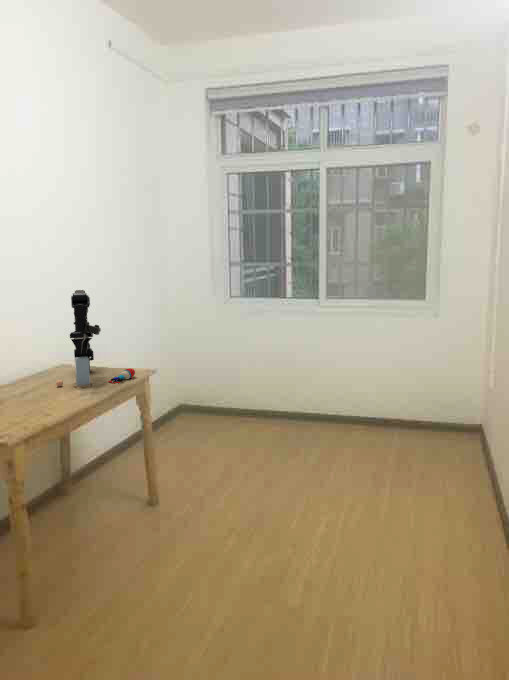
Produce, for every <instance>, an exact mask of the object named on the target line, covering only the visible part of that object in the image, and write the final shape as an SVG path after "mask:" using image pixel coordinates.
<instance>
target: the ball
mask: <svg viewBox="0 0 509 680" xmlns="http://www.w3.org/2000/svg"><path fill="white" fill-rule="evenodd" d="M55 385H56V386H57V387H59V388H60V387H62V386H63V385H64V382H63V380H60V379H59V380H56V382H55Z"/></svg>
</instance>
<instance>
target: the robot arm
mask: <svg viewBox="0 0 509 680" xmlns="http://www.w3.org/2000/svg"><path fill="white" fill-rule="evenodd" d="M90 299H91V297H90V296H89V295H88V294H87V293H86V290H84V289H77V290H74V292H73V293H72V295H71V296H70V300H71V303H70V304H71V308H72V309H73V315H74V322H73V325H74V329H75V330H73V331H71V332H70V334H69V339H70V340H71V342H72V344H73V345H74V347H75V348H74V350H73V354H74V358H75V357H88V358H89V373H90V374H91V372H93V369H91V362H92V361H95V360H94V356H95V355H94V351H93V349H92V347H91V344H90V341H91V340H92V339H93V337H94V335H95V336H98V335H99V336H100V332H102V331H101V328H100V325H98V324H94V325H91V324H90V322H89V321H88V312H89V308H90V306H91V300H90Z"/></svg>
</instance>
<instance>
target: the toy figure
mask: <svg viewBox="0 0 509 680" xmlns="http://www.w3.org/2000/svg"><path fill="white" fill-rule="evenodd" d="M134 375H136V370H134V369H133V368H125V369H124V370H123V371H122V372H120V374H119V375H118V376H114V377H113V378H111V379H110V380H108V381H107V383H108V382H111V383H110V384H113V383H119V384H120V383H122V382H124V381H125V380H124V379H127V380H131V379H132V378H134ZM130 378H131V379H130ZM117 381H119V382H117ZM112 382H113V383H112Z"/></svg>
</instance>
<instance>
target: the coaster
mask: <svg viewBox="0 0 509 680" xmlns="http://www.w3.org/2000/svg"><path fill="white" fill-rule="evenodd" d="M93 384H94V382H93V381H90V385H79V386H77V384H76V382H74V383H73V384H72V386H74V388H77V387H84V388H89V386H90V387H93V386H94V385H93ZM92 385H93V386H92Z"/></svg>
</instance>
